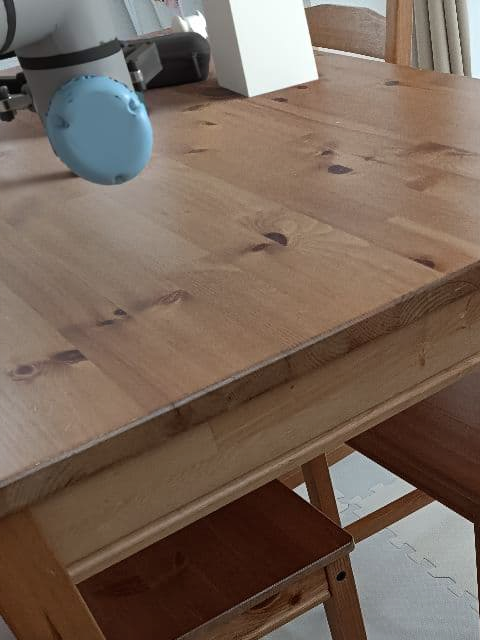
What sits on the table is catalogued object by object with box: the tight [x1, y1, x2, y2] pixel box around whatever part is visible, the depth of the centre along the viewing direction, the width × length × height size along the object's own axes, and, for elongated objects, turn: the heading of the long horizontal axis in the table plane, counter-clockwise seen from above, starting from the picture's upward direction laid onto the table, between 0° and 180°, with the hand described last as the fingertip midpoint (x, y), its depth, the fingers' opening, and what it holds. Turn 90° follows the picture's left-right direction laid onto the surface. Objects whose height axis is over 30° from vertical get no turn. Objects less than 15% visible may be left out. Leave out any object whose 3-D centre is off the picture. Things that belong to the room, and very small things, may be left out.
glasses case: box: [125, 32, 212, 90], centre depth 124 cm, size 18×10×8 cm, turn 97°
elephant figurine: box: [170, 9, 209, 40], centre depth 144 cm, size 7×8×6 cm
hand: (51, 64), depth 84 cm, fingers open, 13 cm apart
